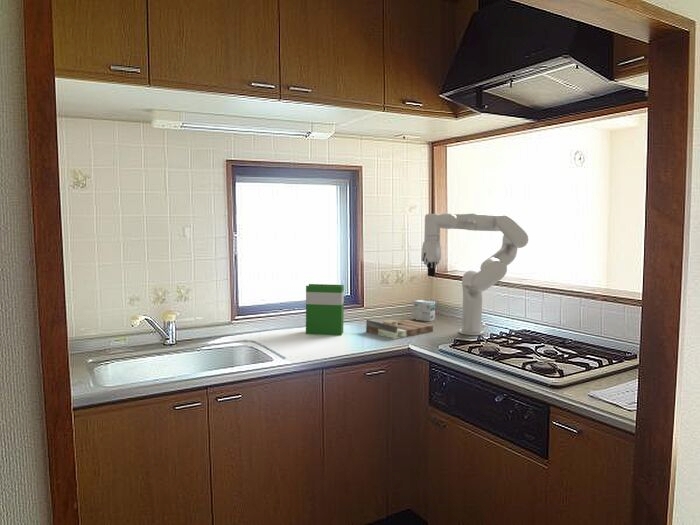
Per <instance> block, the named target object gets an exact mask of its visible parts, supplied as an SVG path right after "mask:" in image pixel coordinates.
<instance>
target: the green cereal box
mask: <svg viewBox="0 0 700 525" xmlns="http://www.w3.org/2000/svg"><path fill="white" fill-rule="evenodd" d="M344 287H345V285H344V284H329V283H328V284H324V283H323V284H319V283H308V285H306V286H305V335H320V336H325V335H326V336H342V335H343V334H344V318H345V317H344V314H345V312H344V309H345V308H344V302H345V300H344V295H345V292H344V291H345V290H344V289H345V288H344Z"/></svg>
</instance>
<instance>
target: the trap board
mask: <svg viewBox="0 0 700 525" xmlns="http://www.w3.org/2000/svg"><path fill="white" fill-rule="evenodd" d="M365 321H366V322H365V323H366V326H365V328H366V330H365V332H366V333H368V332H369V333H370V334H374V335H377V334H378V336H381V335H382V336H381V337H385V336H386V337H385V338H389V337H391V338H390V339H393V338H395V339H394V340H397V339H396V338H398V339H402V338H401V337H403V338H407V337H411V335H412V336H416V335H415V334H417V335H421V334H420V333H422V334H426V333H425V332H427V333H431V332H433V331H434V325H433V324H427V323H423V322H419V321H413V320H409V319H399V320H397V321H398V329H397V326H393V325H389V324H384V323H383V322H379V321H374V320H370V319H366V320H365ZM430 331H431V332H430ZM406 336H407V337H406Z"/></svg>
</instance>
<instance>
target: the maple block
mask: <svg viewBox="0 0 700 525" xmlns="http://www.w3.org/2000/svg"><path fill="white" fill-rule="evenodd" d="M382 323H384V324H389V325H393V326H397V329H398V320H393V319H387V320H383V322H382Z"/></svg>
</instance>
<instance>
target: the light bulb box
mask: <svg viewBox="0 0 700 525" xmlns="http://www.w3.org/2000/svg"><path fill="white" fill-rule="evenodd" d="M414 319H416V321H425V322H432V321H435V320H436V301H435V300H434V301H433V300H426V299H425V300H424V299H423V300H422V299H417V300H414V301H413V320H414Z"/></svg>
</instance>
